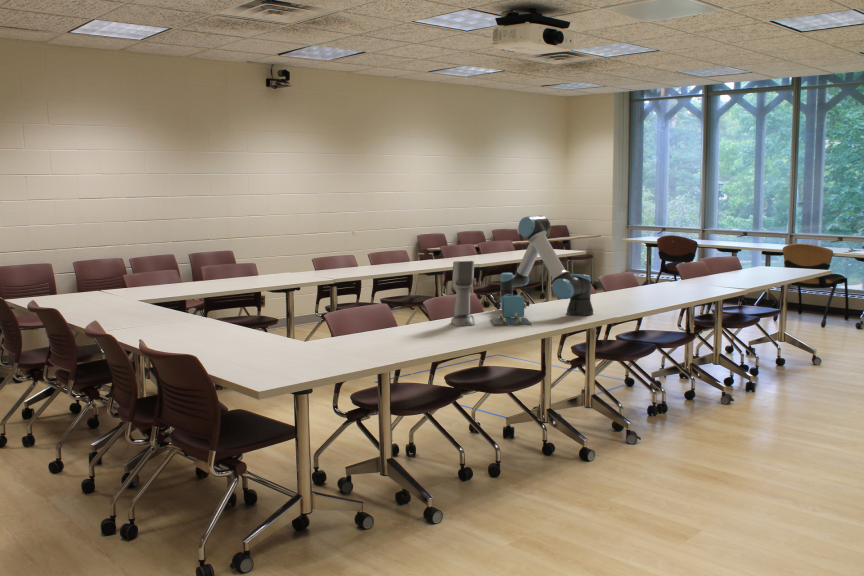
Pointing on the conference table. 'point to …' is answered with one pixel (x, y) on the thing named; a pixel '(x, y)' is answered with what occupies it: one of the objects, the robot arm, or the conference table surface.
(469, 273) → the grey pedestal post
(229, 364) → the conference table surface
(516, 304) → the teal square slab
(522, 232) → the robot arm
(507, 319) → the chassis
